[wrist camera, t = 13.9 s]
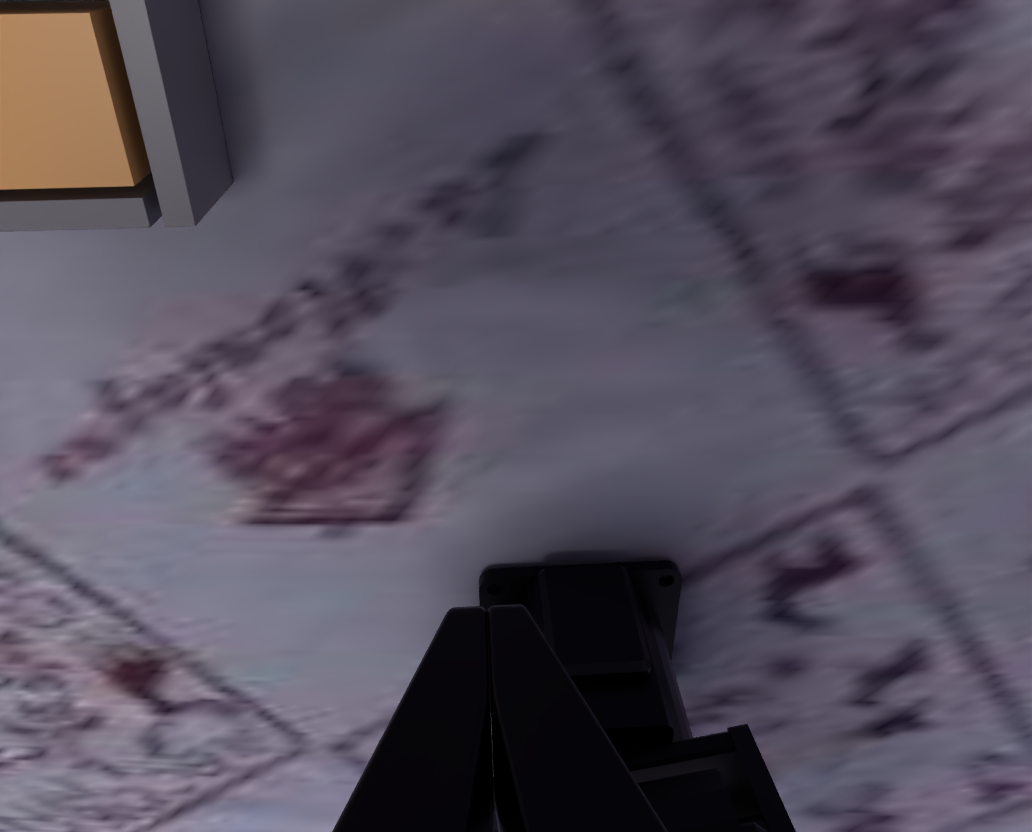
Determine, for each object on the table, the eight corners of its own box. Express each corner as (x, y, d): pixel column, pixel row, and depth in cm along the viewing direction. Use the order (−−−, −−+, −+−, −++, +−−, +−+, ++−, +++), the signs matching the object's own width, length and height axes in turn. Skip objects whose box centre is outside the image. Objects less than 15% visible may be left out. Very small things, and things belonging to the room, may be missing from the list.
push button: (176, 152, 18) (134, 185, 15) (37, 155, 18) (-26, 190, 15) (142, 0, 16) (89, 13, 14) (-11, 2, 16) (-89, 15, 14)
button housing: (233, 182, 19) (195, 226, 16) (24, 187, 19) (-49, 233, 16) (187, -54, 16) (133, -49, 14) (-55, -51, 16) (-159, -45, 13)
